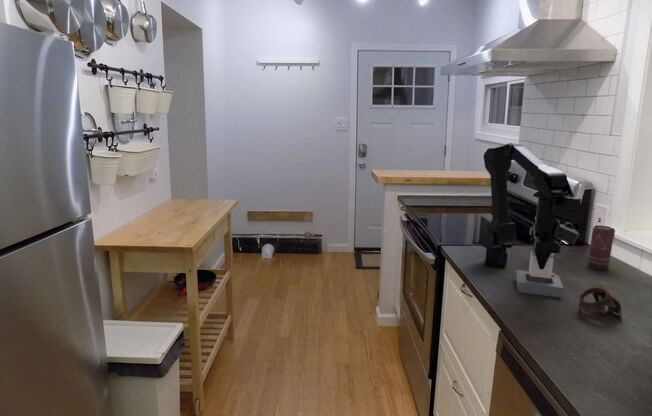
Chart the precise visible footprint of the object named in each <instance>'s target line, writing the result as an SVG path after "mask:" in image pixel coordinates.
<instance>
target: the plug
mask: <svg viewBox="0 0 652 416" xmlns="http://www.w3.org/2000/svg"><path fill="white" fill-rule="evenodd" d="M530 249H531V250H530V257H529V267H528V272H529V274H530V276H534V277H542V278H550V279H551V275H552V273H553V268H554V267H553V266H554V259H555V255H554V254H555V253H552V254H551V255H550V256H549V258H548V260H547V263H546V265H545V267H544V269H543V270H542V269H539V265H538V262H537V258H536V255H535V251H534V248H530Z"/></svg>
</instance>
